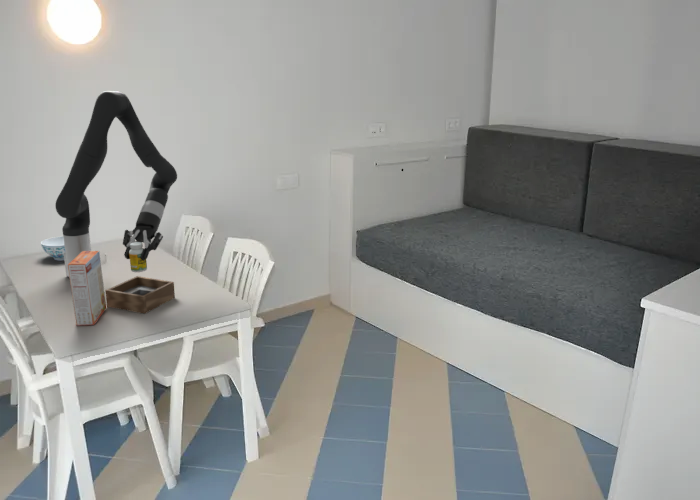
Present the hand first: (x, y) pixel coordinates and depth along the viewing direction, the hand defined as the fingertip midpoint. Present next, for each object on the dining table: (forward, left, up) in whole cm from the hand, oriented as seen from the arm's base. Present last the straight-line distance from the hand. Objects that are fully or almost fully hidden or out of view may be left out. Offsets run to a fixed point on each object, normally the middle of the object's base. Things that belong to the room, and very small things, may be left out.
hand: (134, 258), depth 206 cm
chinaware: (-64, +29, -17) cm, 72 cm away
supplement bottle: (0, +2, -5) cm, 5 cm away
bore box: (0, +2, -16) cm, 17 cm away
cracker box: (-6, -16, -17) cm, 24 cm away
